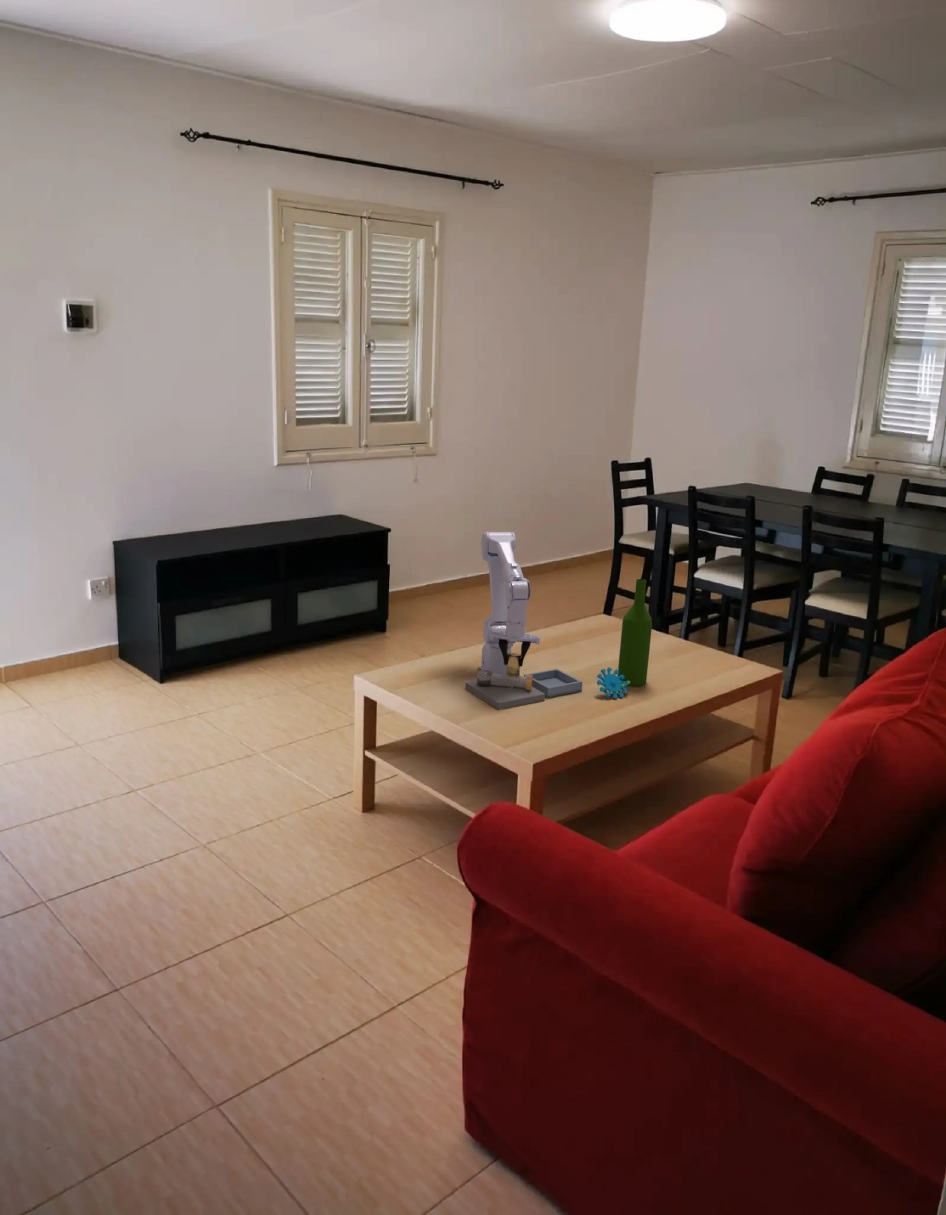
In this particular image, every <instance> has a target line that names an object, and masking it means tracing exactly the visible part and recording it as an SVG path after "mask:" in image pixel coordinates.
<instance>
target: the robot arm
mask: <svg viewBox="0 0 946 1215" xmlns="http://www.w3.org/2000/svg"><path fill="white" fill-rule="evenodd" d="M480 540H481V544H480V545H481V555H482V560H484V561H485V562H487V566H488V573H489V587H490V588H489V589H490V603H491V614H490V615H488V617H486V619H485V620H484V622H483V636H482V638H483V641H484V644H483V646H482V648H481V662H480V663H481V665H479V666H478V668H479V669H480V670H489V671H491V672H492V674H503V675H506V668H507V654H508V653H512V647H514V644H516V643H521V646H520V647H521V648H520V655H521V659H520V668H522V667H523V665H524V660H525V657H526V655H527V653H528V651H529V649H530V647H531V644H535V645H540V643H541V636H538V635H533V634H528V633H526V625H527V610H528V601H529V600H530V599H531V594H532V587H531V583H530V580H529V579H527V578H525V577H524V575H523V571H522V568H521V566H520V564H519V563H517V562H516V561H515V556H514V552H515V550H516V546H517V538H516V534H515V533H514V531H486V530H485V531H483V533H482V535H481V539H480Z"/></svg>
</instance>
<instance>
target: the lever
mask: <svg viewBox="0 0 946 1215" xmlns="http://www.w3.org/2000/svg"><path fill="white" fill-rule="evenodd" d="M476 677H477V678H476V680H477V684H478V685H480V686H490V685H499V686H510V688H511V687H522V688H526V690H531V688H532V682H533V675H527V677H526V676H524V675H520V676H515V675H503V674H492V672H491V671H489V670H482V669H480V670H477V676H476Z"/></svg>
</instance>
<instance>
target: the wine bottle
mask: <svg viewBox="0 0 946 1215" xmlns="http://www.w3.org/2000/svg"><path fill="white" fill-rule="evenodd" d="M646 587H647V580H646V579H643V578H638V579H636V582H635V589H634V590H635V592H634V600H633V603H632V606H631V607H629V609H628V610H627V611H626V613H625V614H624V616H623V618H622V621H621V622H622V623H621V624H622V625H621V633H620V644H619V645H620V646H619V654H618V656H619V657H618V666H617V670H618V671H619V673H618V674H617V676H621V675H624V679H623V680H621V679H620V680H621V681H623V682H625V681H626V682H627V681H630V684H629V685H627V686H626V687H634V688H635V687H638V688H639V687H643V686H645V685H646V683H647V680H648V678H647V677H648V668H649V661H650V660H649V657H650V648H651V638H652V629H653V621H652V616H651V615H650V613H649V611H648V609H647V607H646V605H645V603H646V602H645V601H646V600H645V599H646Z"/></svg>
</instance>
